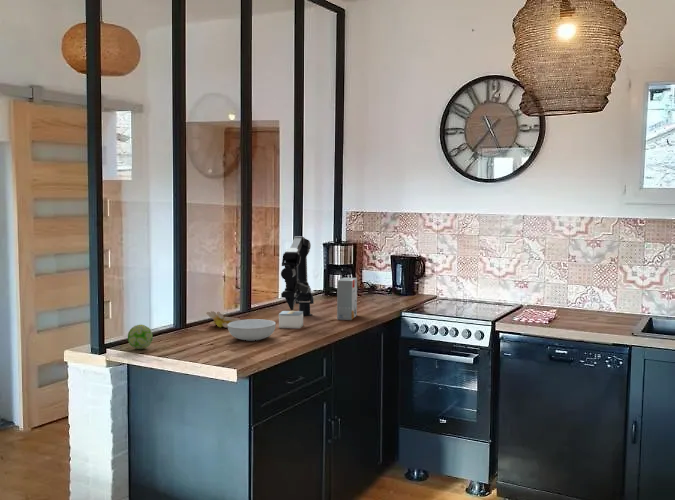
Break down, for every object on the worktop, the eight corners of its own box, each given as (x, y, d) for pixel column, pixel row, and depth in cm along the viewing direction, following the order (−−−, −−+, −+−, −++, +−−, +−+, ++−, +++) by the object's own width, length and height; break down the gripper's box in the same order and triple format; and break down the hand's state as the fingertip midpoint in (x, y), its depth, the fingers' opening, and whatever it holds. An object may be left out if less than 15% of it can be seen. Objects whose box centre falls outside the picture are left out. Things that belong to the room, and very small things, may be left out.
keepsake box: (282, 324, 330) (282, 312, 330) (303, 325, 329) (303, 313, 328) (279, 327, 322) (278, 315, 322) (299, 328, 321) (299, 315, 321)
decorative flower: (245, 322, 326) (240, 303, 324) (229, 332, 318) (223, 311, 315) (224, 321, 335) (219, 302, 333) (207, 330, 327) (202, 310, 325)
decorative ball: (122, 349, 277) (122, 325, 276) (142, 345, 285) (141, 321, 284) (139, 352, 271) (138, 328, 270) (158, 348, 279) (157, 324, 279)
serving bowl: (223, 336, 304) (223, 320, 304) (269, 332, 312) (268, 317, 311) (233, 345, 285) (232, 329, 284) (281, 341, 292) (281, 325, 292)
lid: (282, 312, 330) (282, 310, 330) (303, 312, 328) (303, 311, 328) (278, 315, 322) (278, 313, 322) (299, 315, 321) (299, 314, 320)
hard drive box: (351, 320, 341) (351, 281, 340) (336, 320, 343) (336, 280, 341) (357, 315, 357) (357, 277, 355) (342, 314, 358) (342, 277, 357)
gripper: (304, 280, 315) (304, 313, 316) (312, 275, 333) (312, 307, 335) (280, 279, 317) (281, 313, 318) (289, 275, 335) (289, 306, 336)
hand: (291, 309), depth 327 cm, fingers closed
